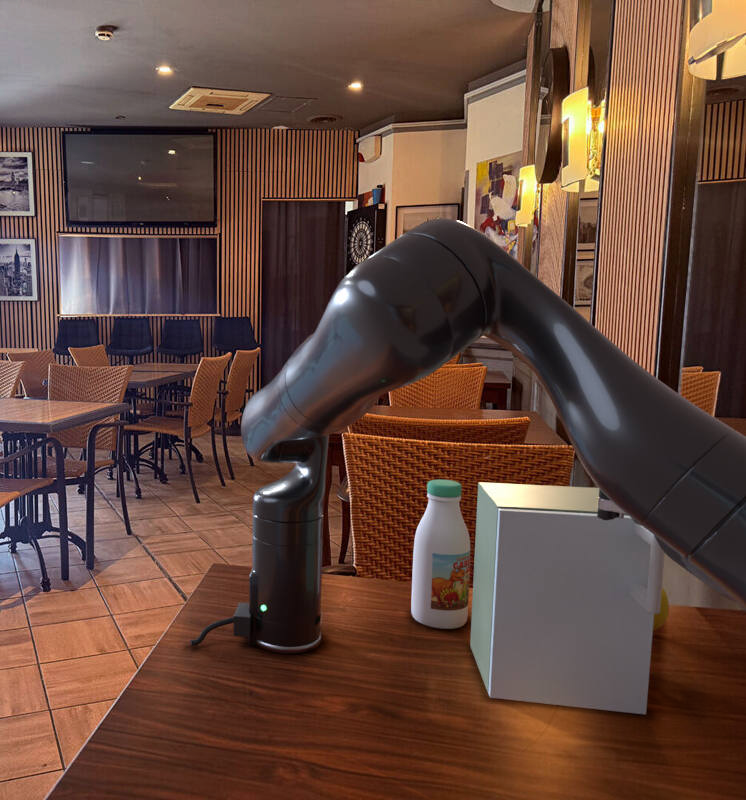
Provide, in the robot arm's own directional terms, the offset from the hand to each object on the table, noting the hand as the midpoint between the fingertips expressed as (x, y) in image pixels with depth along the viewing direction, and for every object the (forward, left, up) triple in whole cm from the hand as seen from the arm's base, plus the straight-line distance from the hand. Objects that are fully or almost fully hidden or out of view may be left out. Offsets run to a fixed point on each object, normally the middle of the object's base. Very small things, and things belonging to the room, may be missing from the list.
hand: (636, 482), depth 65 cm
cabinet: (-2, +16, -27) cm, 32 cm away
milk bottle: (-13, +30, -28) cm, 43 cm away
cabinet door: (-2, +6, -27) cm, 28 cm away
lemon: (+14, +31, -28) cm, 44 cm away
